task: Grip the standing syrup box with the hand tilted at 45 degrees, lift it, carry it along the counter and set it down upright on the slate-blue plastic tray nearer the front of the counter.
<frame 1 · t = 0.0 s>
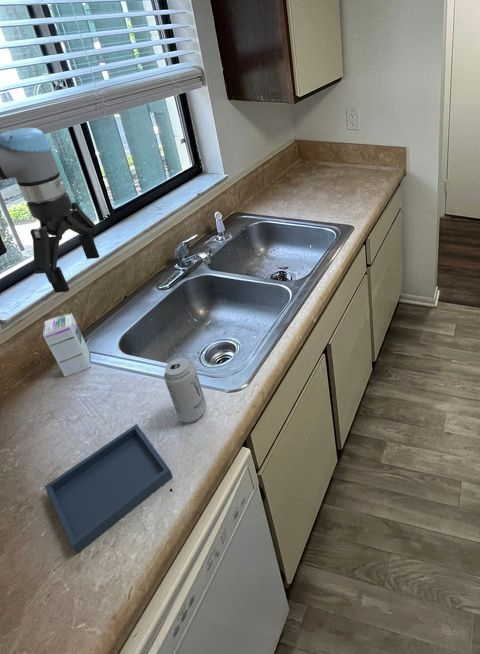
hand: (78, 273, 107), 25 cm above the worktop, tool pointing down, fingers open, 13 cm apart
tray: (112, 485, 86), on the worktop
syrup box: (78, 365, 113), on the worktop
energy drink can: (193, 413, 100), on the worktop
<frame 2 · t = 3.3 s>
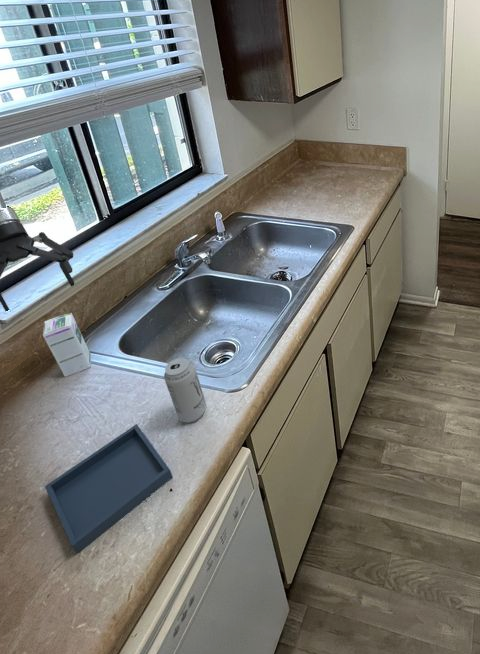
hand: (41, 297, 112), 17 cm above the worktop, tool tilted 45°, fingers open, 13 cm apart
nothing on the worktop moved.
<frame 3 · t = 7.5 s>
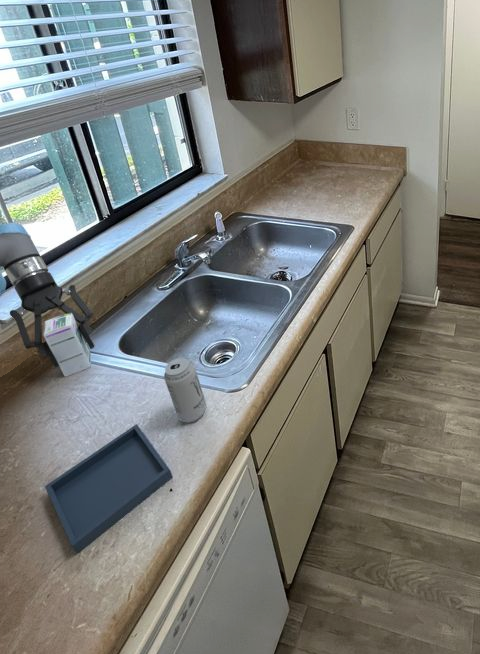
hand: (75, 356, 108), 6 cm above the worktop, tool tilted 45°, fingers closed on syrup box, 7 cm apart
syrup box: (78, 365, 113), on the worktop, touching gripper
everything else where it was.
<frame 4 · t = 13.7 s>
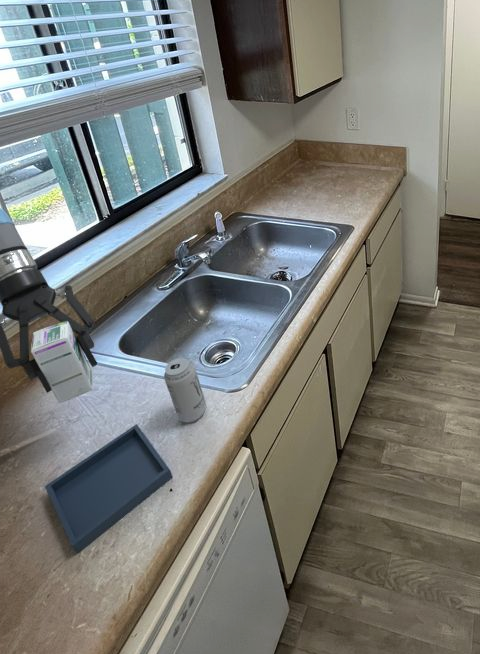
hand: (72, 377, 84), 20 cm above the worktop, tool tilted 45°, fingers closed on syrup box, 7 cm apart
syrup box: (76, 388, 89), point 15 cm above the worktop, touching gripper
everything else where it was.
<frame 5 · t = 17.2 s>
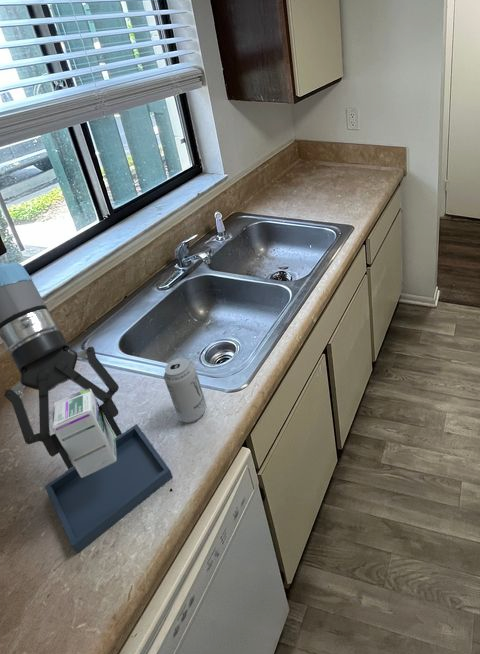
hand: (95, 450, 78), 14 cm above the worktop, tool tilted 45°, fingers closed on syrup box, 7 cm apart
syrup box: (98, 458, 82), point 8 cm above the worktop, touching gripper
everything else where it was.
when the fingers open (6 cm above the worktop, at t = 19.8 s): syrup box stays where it is, resting on tray.
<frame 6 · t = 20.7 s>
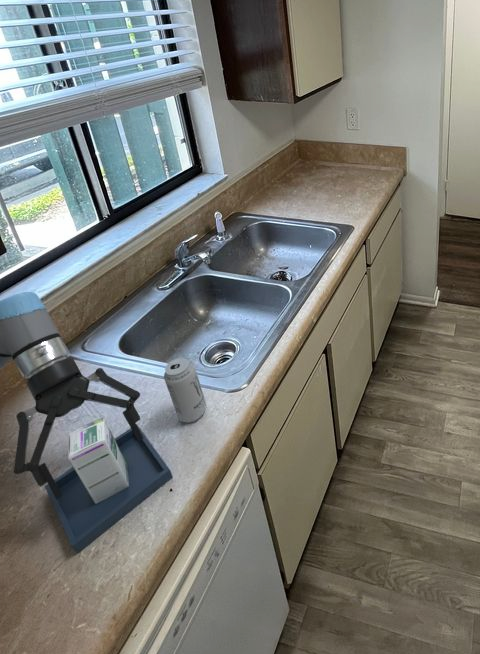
hand: (102, 467, 81), 8 cm above the worktop, tool tilted 45°, fingers open, 13 cm apart
syrup box: (111, 484, 86), resting on tray
everything else where it was.
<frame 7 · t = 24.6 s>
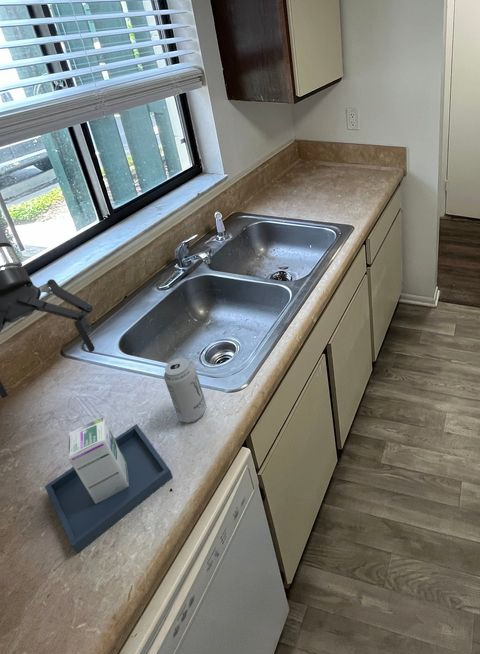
hand: (51, 372, 82), 24 cm above the worktop, tool tilted 45°, fingers open, 13 cm apart
nothing on the worktop moved.
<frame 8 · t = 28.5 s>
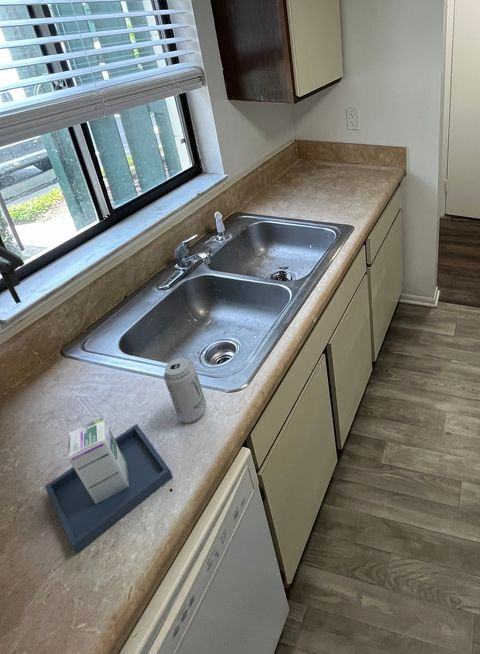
nothing on the worktop moved.
at the end: syrup box inside the target area in the tray (0.0 cm from its centre), point 0.4 cm above the tray's base; syrup box tilted 0° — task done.
